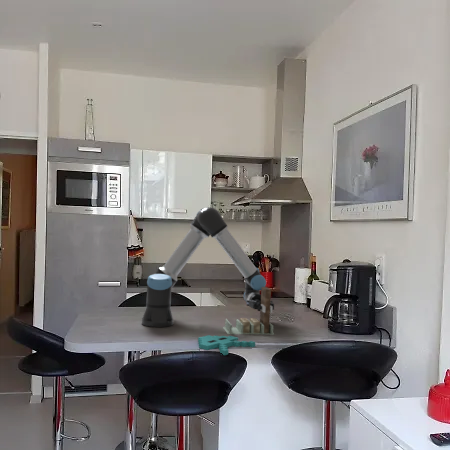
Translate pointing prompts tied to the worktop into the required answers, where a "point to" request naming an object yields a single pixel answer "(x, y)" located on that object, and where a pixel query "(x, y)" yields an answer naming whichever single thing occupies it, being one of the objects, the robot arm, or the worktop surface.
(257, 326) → the pine offcut
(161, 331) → the worktop surface
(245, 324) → the pine offcut
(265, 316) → the walnut panel
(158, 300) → the robot arm
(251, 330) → the slot rack
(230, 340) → the alien figure
